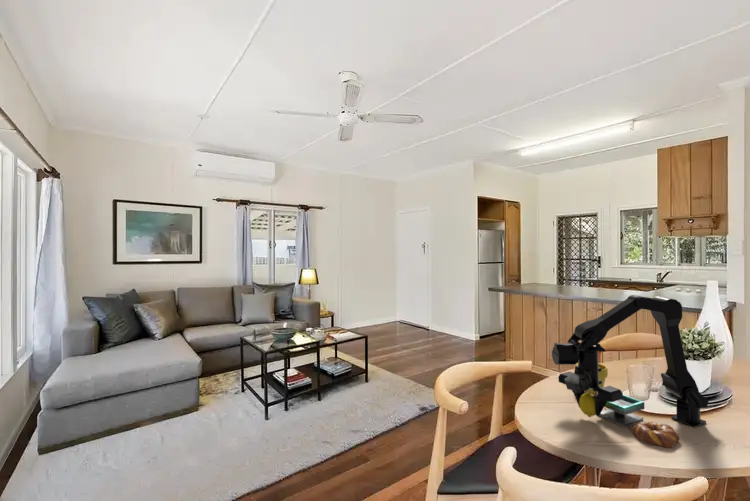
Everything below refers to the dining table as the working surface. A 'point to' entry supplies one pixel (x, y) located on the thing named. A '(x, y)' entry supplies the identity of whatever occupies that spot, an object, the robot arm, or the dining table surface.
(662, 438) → the pretzel
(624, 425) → the teal tray on stand
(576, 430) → the dining table surface
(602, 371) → the plant pot
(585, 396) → the lemon
